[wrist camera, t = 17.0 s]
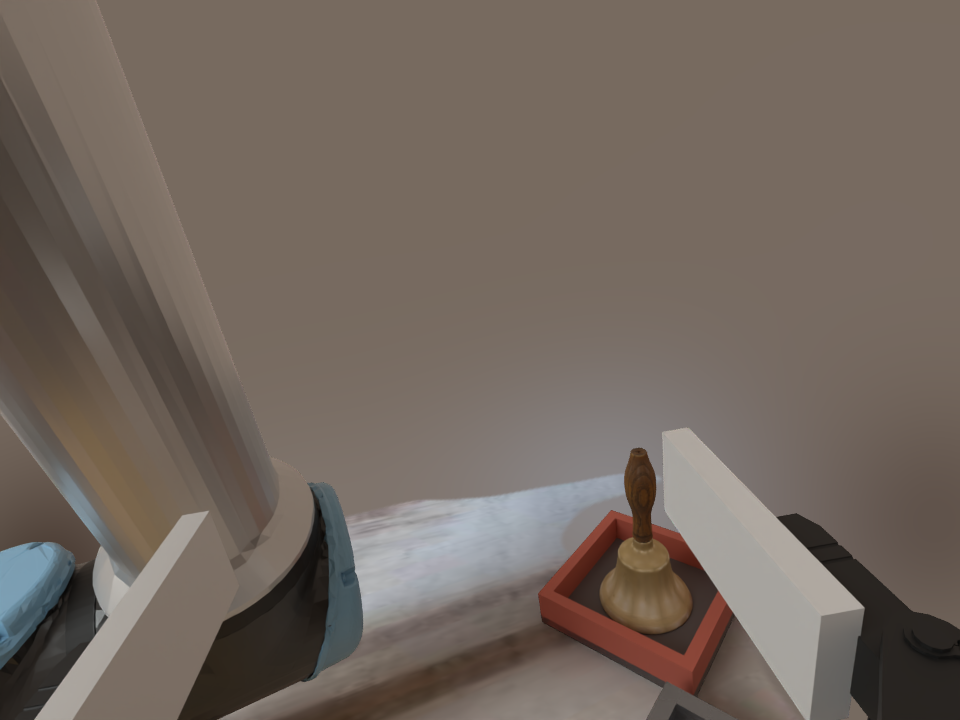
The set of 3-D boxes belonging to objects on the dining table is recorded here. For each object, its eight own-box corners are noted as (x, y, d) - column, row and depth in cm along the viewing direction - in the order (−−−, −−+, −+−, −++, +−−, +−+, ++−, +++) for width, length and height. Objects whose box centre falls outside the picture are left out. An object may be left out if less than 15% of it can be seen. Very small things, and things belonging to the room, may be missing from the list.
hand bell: (711, 596, 48) (711, 445, 42) (655, 652, 44) (648, 491, 38) (636, 553, 54) (628, 416, 49) (581, 598, 50) (565, 453, 45)
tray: (542, 621, 49) (538, 593, 48) (613, 535, 59) (611, 510, 57) (692, 704, 40) (692, 672, 39) (748, 585, 49) (749, 557, 48)
